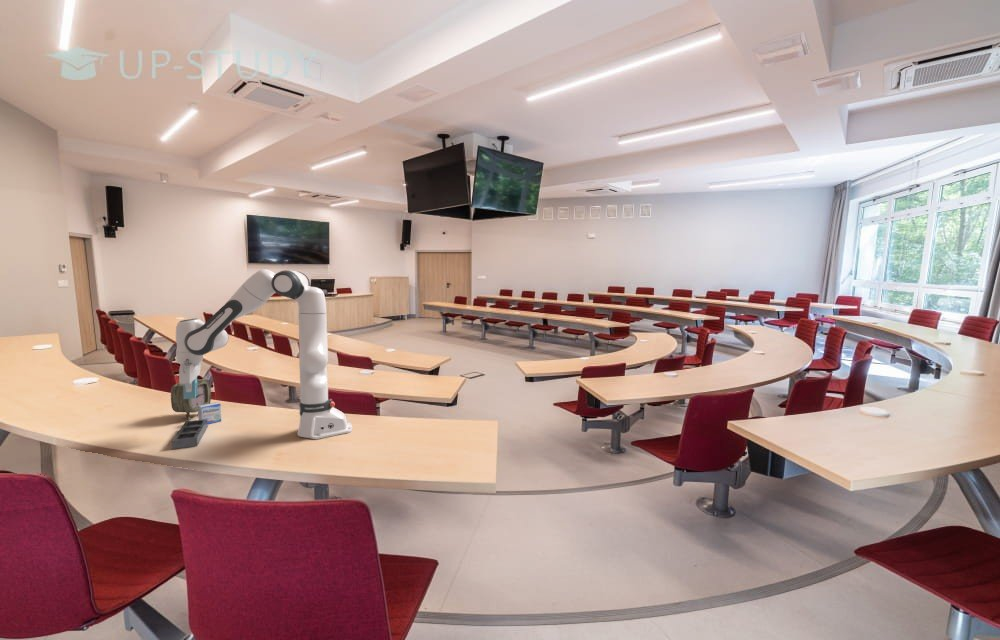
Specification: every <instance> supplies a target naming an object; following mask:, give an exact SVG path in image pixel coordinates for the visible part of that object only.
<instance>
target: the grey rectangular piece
mask: <svg viewBox="0 0 1000 640" xmlns="http://www.w3.org/2000/svg"><path fill="white" fill-rule="evenodd" d="M208 427H209V424H208V419H204V420H199V419H197V420H190V421H187V420H185V422H184V423H183V424H182V426H181V427H180V428H179V430H178V432H177V433H176V434H175V436H174V437H173V439H172V440H171V450H179V449H180V450H181V449H185V448H187V449H188V448H194V447H198V446H199V444H200V443H201V440H202V438H203V436H204V434H205V433H206V431H207V429H208Z"/></svg>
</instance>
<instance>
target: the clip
mask: <svg viewBox="0 0 1000 640" xmlns="http://www.w3.org/2000/svg"><path fill="white" fill-rule="evenodd" d="M197 379H198V376H197V377H196V378H195V379H194V380H193V381H192V391H191V392H186V387H185V385H183V395H184V399H193V398H196V397H197Z"/></svg>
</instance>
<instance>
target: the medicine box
mask: <svg viewBox="0 0 1000 640" xmlns="http://www.w3.org/2000/svg"><path fill="white" fill-rule="evenodd" d="M197 416H198V419H197V420H204V419H208V425H212V424H216V423H220V422H222V405H221V403H220V402H219V401H218V402H210V404H205V405H200V406H198V412H197Z"/></svg>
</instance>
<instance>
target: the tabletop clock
mask: <svg viewBox="0 0 1000 640" xmlns="http://www.w3.org/2000/svg"><path fill="white" fill-rule="evenodd" d="M211 398H212V390H211V383H210V380H209V379H199V378H197V397H196V398H193V399H184V395H183V385H180V383H179V382H177V383H176V384H173V385H172V386H171V389H170V402H171V408H172V411H174V412H175V413H186V414H185V417H186V421H192V420H191V419H192V417H190V415H191V414H190V413H192V414H193V413H198V406H200V405H205V404H210V403H211V401H212V399H211Z"/></svg>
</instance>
